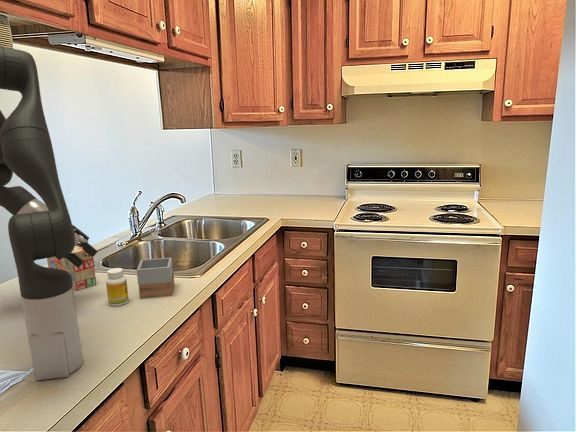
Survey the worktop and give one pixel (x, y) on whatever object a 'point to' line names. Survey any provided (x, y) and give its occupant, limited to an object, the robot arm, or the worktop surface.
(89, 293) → the worktop surface
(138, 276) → the tower top
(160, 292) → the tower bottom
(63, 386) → the worktop surface
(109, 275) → the supplement bottle
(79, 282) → the stack of blocks
